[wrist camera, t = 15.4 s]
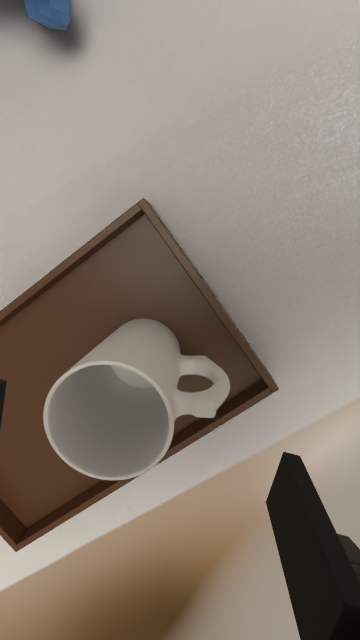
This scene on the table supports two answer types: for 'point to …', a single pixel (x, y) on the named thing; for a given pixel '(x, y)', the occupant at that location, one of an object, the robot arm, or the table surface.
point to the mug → (127, 401)
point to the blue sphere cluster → (49, 12)
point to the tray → (87, 333)
